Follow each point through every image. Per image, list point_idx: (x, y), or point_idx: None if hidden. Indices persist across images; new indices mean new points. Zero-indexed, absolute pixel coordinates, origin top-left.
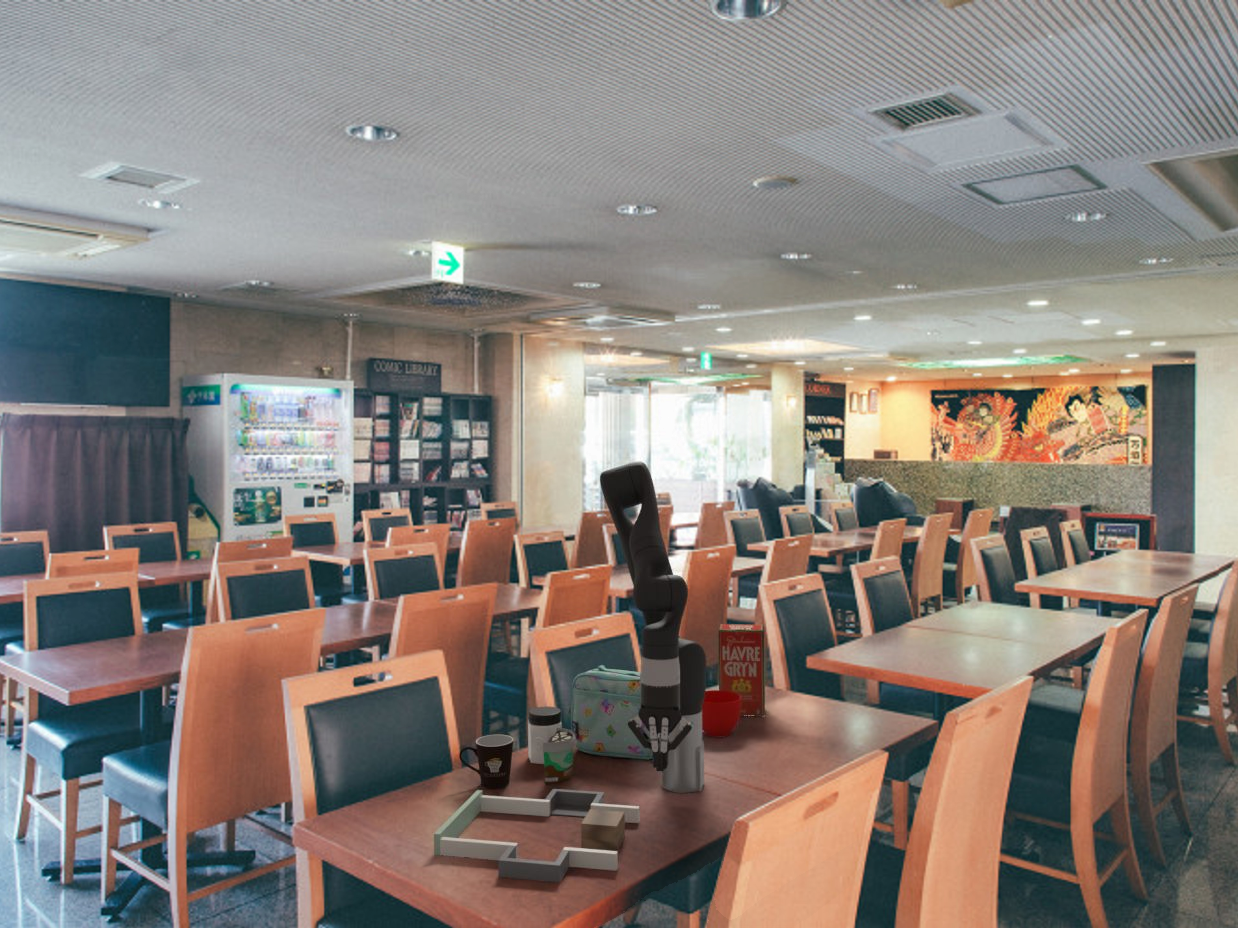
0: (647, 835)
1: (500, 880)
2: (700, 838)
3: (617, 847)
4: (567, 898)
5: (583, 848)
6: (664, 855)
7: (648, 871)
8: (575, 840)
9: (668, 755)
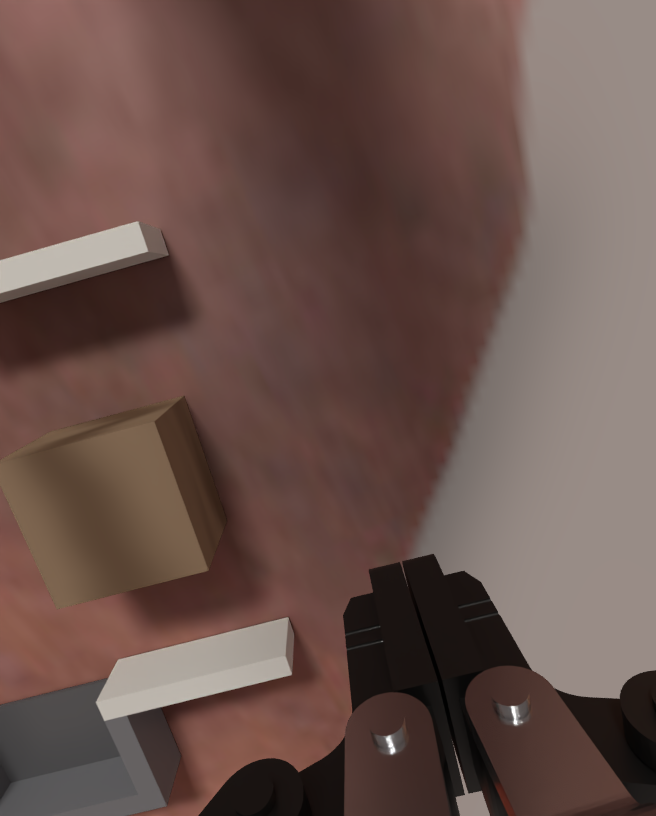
0: (262, 352)
1: None
2: (469, 285)
3: (223, 522)
4: None
5: (163, 685)
6: (393, 478)
7: None
8: None
9: (511, 638)
